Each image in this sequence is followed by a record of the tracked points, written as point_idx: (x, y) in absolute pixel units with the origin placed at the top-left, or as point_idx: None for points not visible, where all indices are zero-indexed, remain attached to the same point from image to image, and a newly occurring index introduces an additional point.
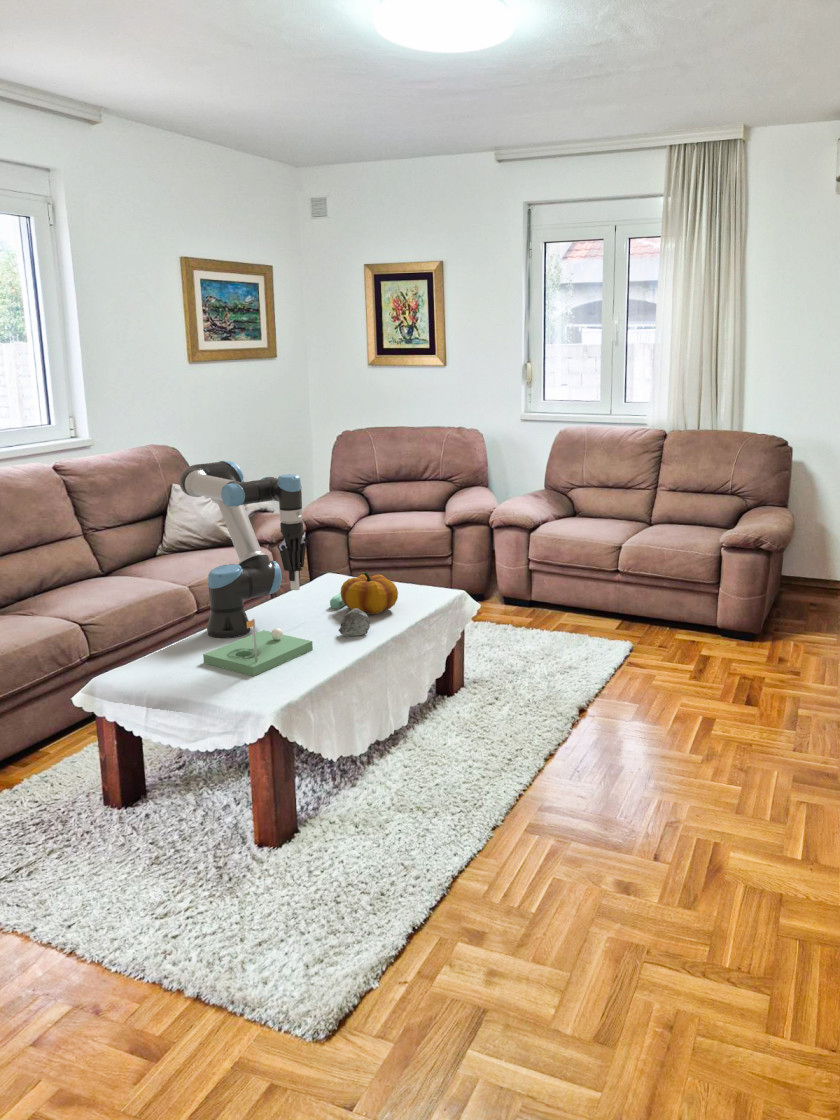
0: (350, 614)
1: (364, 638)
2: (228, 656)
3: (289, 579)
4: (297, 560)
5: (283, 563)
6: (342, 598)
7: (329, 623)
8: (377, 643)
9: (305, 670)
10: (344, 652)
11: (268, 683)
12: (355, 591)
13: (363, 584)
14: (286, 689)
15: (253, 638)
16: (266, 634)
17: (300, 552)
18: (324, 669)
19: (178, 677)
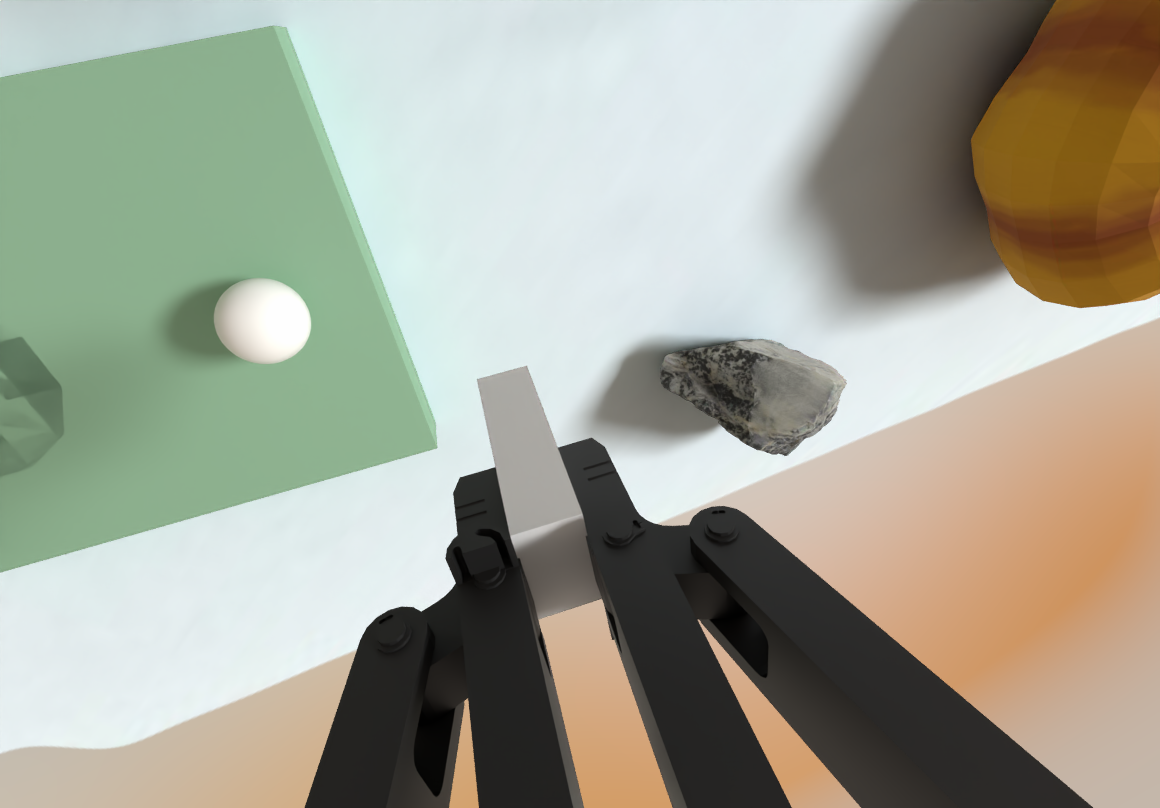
0: (742, 441)
1: (697, 439)
2: None
3: (454, 494)
4: (655, 756)
5: (323, 799)
6: None
7: (785, 126)
8: (681, 510)
9: (264, 596)
10: None
11: (32, 638)
12: (1087, 188)
13: None
14: (94, 703)
15: (105, 154)
16: (249, 147)
17: (892, 802)
18: (341, 618)
19: None
